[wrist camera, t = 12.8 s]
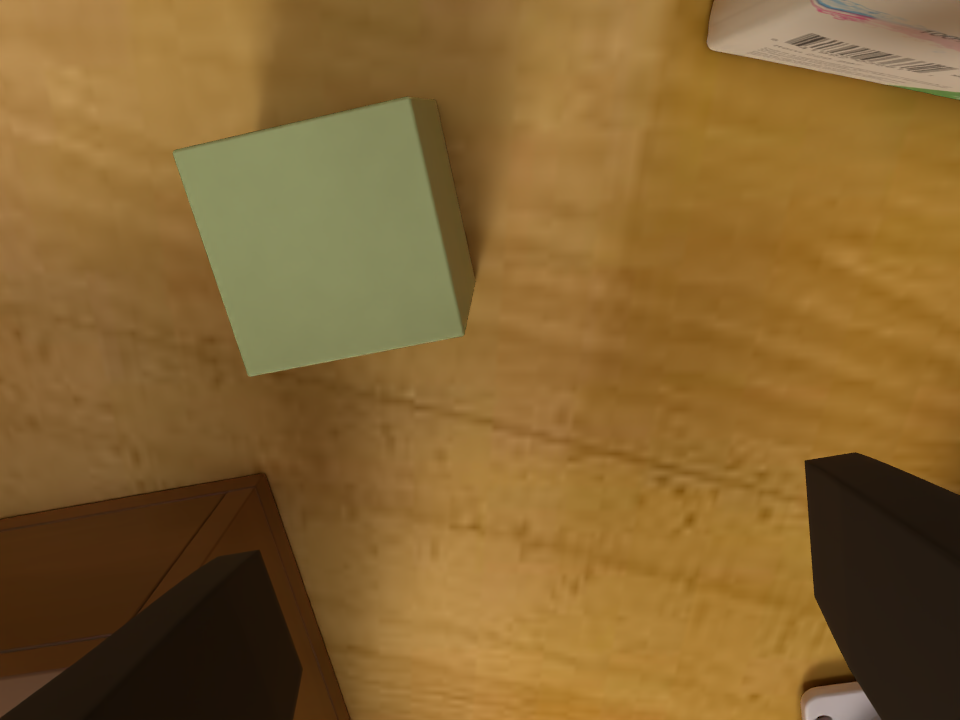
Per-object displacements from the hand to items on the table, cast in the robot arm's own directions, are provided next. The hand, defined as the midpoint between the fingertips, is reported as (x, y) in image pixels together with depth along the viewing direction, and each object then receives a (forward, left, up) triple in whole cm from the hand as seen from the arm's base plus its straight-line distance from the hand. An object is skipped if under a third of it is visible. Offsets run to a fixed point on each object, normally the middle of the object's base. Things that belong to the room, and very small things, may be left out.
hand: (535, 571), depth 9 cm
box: (+4, +3, -9) cm, 11 cm away
